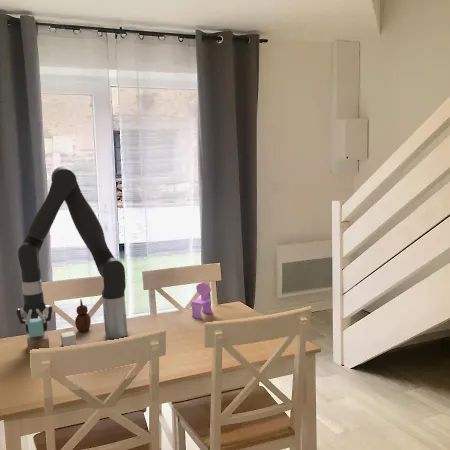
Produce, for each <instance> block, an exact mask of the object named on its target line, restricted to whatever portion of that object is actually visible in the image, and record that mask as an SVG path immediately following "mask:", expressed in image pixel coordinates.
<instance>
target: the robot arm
mask: <svg viewBox="0 0 450 450" xmlns="http://www.w3.org/2000/svg"><path fill="white" fill-rule="evenodd" d="M50 179H51V184H50V188H49V191H48V194H47V195H46V198H45V200H44V202H43V203H42V205H41V206H40V208H39V210H38V211H37V213H36V215H35V217H34V219H33V221H32V222H31V225H30V227H29V229H28V233H27V234H26V237H25V239H24V241H23V242H22V244H21V245H20V247H18V250H17V256H18V257H17V258H18V262H19V266H20V267H19V268H20V270H21V281H22V283H21V286H22V291H21V292H22V297H23V307H21V308H19V307H18V308H17V309H16V315H17V318H18V320H19V321H18V322H19V323H20V325H25V331H26V333H28V334H29V331H28V322H29V320H30V319H31V318H34V317H38V318H41V319H42V321H43V327H44V332H47V330H48V322H50V321H51V319H52V315H53V307H54V306H53V304H50V305H46V304H45V298H44V290H43V289H44V288H43V281H42V275H41V269H40V266H39V264H38V263H39V261H38V255H39V252H40V251H41V248H42V246H43V244H44V240H45V239H46V238H47V235H48V234H49V231H50V230H51V228H52V226H53V224H54V222H55V219H56V217H57V215H58V212H59V211H60V209H61V207H62V206H63V204H64V202H65V205H66V207H67V208H68V209H67V210H68V212H69V214H70V217H71V219H72V222H73V225H74V227H75V229H76V230H77V232H78V234H79V236H80V238H81V239H82V241H83V243H84V245H85V246H86V248H88V249H87V250H89V253H90V254H91V256H92V258H93V261H94V263H95V266H96V269H97V271H98V273H99V275H100V276H101V278H103V289H102V290H101V291H102V292H101V296H102V310H103V321H104V333H105V335H104V336H105V338H108V339H112V340H114V339H120V338H124V337H128V336H129V335H128V334H129V333H128V324H127V323H128V322H127V321H128V319H127V309H126V295H125V294H126V293H125V291H126V285H127V284H126V270H125V266H124V264H123V262H122V261H120V260H118V259H116V258H115V256H114V255H113V254H112V252H111V250H110V249H109V247H108V244H107V241H106V237H105V233H104V229H103V227H102V225H101V222H100V221H99V218H98V217H97V215H96V214H95V211H94V210H93V208H92V206H91V205H90V203H89V202H88V200H87V199H86V198H85V196H84V194H83V192H82V190H81V189H80V185H79V182H78V180H77V176H76V173H75V172H74V171H73V170H72V169H71V167H68V166H59V167H56V168H55V169H54V170H53V171H52V174H51V178H50ZM45 309H46V312H48V313H47V317H46V316H45V313H44V311H45ZM24 312H25V313H26V314H27V316H26V318H25V317H24V315H23V314H24ZM24 318H25V319H24Z"/></svg>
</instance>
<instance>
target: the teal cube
mask: <svg viewBox="0 0 450 450" xmlns="http://www.w3.org/2000/svg"><path fill="white" fill-rule="evenodd" d="M28 331H29V333H28V335H29V337H33V336H42V335H44V333H45V332H44V327H43V321H42V319H41V318H40V317H38V318H30V320H29V322H28Z"/></svg>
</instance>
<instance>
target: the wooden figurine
mask: <svg viewBox="0 0 450 450" xmlns="http://www.w3.org/2000/svg"><path fill="white" fill-rule="evenodd" d="M79 299H80V301H79V302H80V304H79V305H78V306H77V307H76V317H75V321H74V324H75V327H76V329H77V331H78V332H80V333H85V332H87V331H89V329H90V327H91V323H92V322H91V316H90V314H89V313H88V310H89V309H88V306H87V305H85V304H84V303H83V300H82V298H79Z"/></svg>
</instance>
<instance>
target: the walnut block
mask: <svg viewBox="0 0 450 450" xmlns="http://www.w3.org/2000/svg"><path fill="white" fill-rule="evenodd" d="M26 343H27V352H28V353H27V354H30V353H29V352H30V350H32V349H39V348H50V337H49V334H48V331H46V332H45V333H44V335H42V336H33V337H29V334H27V335H26Z"/></svg>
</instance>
